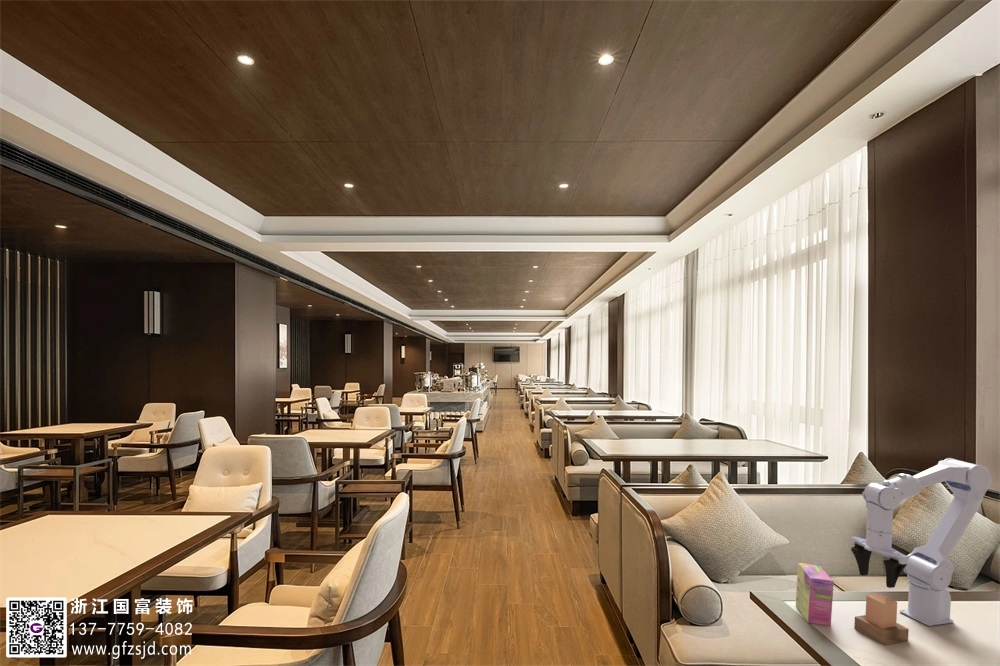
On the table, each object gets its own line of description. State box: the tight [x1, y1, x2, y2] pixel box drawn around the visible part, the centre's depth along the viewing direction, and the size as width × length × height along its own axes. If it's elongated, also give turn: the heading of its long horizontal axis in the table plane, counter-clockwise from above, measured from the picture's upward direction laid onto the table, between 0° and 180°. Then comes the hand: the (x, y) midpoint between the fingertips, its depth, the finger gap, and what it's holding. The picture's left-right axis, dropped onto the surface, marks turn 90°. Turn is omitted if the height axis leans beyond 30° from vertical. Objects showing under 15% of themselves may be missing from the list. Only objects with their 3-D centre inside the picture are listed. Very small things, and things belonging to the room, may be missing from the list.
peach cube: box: [865, 593, 898, 628], centre depth 143 cm, size 5×5×6 cm
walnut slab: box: [853, 614, 910, 646], centre depth 143 cm, size 8×8×3 cm
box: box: [795, 562, 835, 627], centre depth 152 cm, size 10×6×12 cm, turn 168°
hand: (876, 580), depth 152 cm, fingers open, 7 cm apart
